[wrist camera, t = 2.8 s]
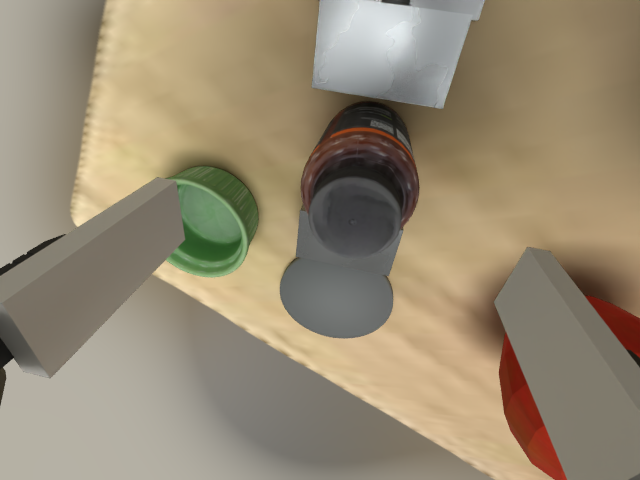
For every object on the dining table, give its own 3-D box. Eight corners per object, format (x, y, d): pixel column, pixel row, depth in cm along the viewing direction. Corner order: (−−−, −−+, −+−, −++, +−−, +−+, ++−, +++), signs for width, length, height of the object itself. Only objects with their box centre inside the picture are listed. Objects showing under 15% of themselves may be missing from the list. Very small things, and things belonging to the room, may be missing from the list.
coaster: (285, 237, 28) (282, 242, 28) (406, 262, 27) (407, 268, 27) (279, 319, 34) (277, 325, 34) (378, 341, 34) (378, 348, 33)
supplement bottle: (334, 187, 25) (301, 280, 15) (317, 109, 22) (264, 165, 12) (412, 177, 23) (429, 273, 14) (406, 90, 20) (421, 139, 11)
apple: (536, 238, 24) (675, 430, 12) (679, 291, 24) (945, 527, 13) (451, 334, 31) (488, 513, 19) (562, 374, 31) (664, 574, 20)
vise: (327, -111, 16) (306, -161, 12) (509, -91, 15) (555, -137, 11) (297, 224, 27) (281, 257, 23) (400, 244, 26) (402, 283, 22)
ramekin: (270, 253, 30) (254, 283, 26) (184, 244, 31) (157, 272, 28) (259, 161, 25) (236, 182, 21) (156, 156, 26) (119, 175, 23)
